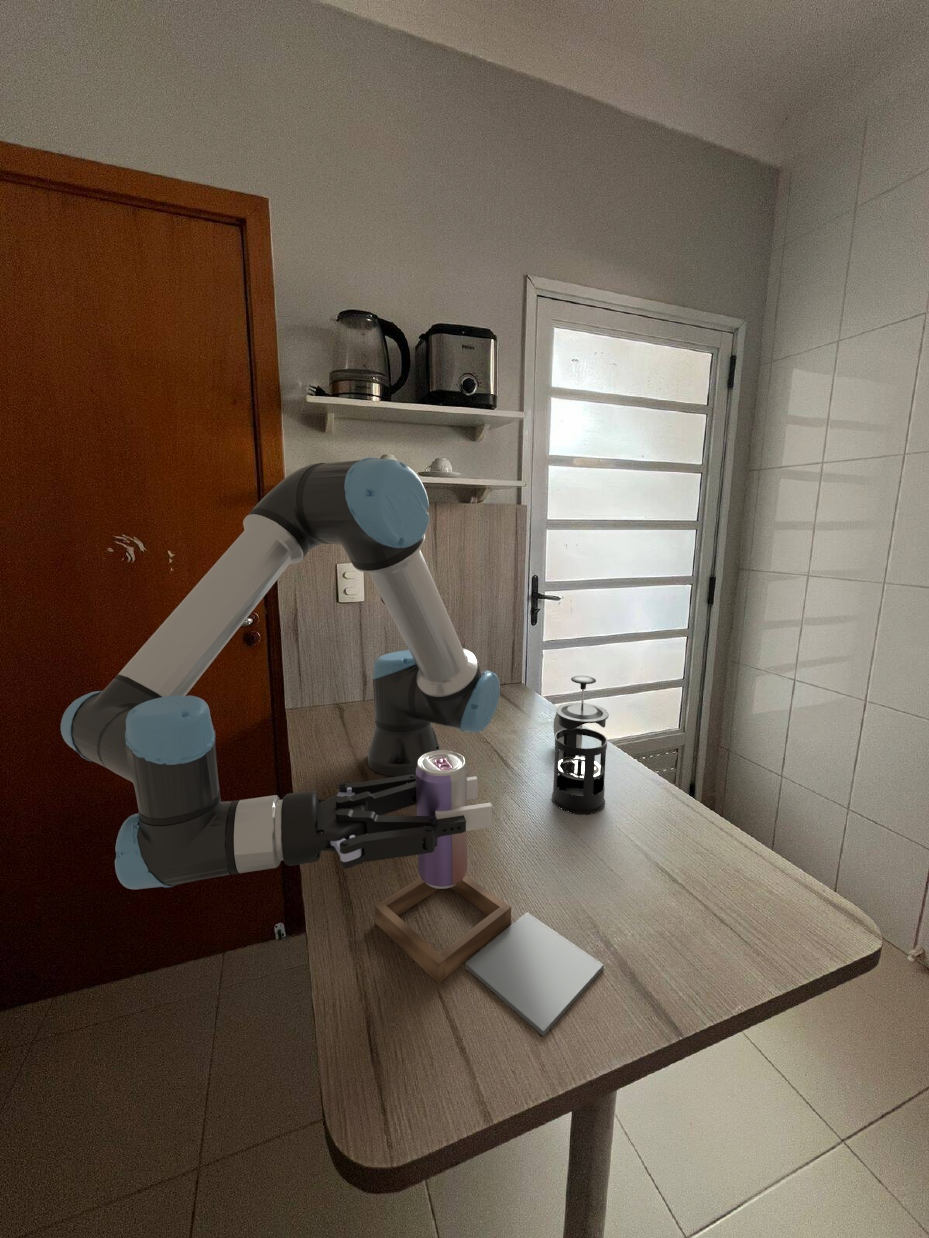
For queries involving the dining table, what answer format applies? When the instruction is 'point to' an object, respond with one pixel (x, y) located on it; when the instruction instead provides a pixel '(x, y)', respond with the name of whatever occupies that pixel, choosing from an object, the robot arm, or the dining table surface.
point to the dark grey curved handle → (559, 727)
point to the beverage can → (442, 791)
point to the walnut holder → (463, 947)
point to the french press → (574, 768)
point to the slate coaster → (534, 971)
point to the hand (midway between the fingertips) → (483, 800)
